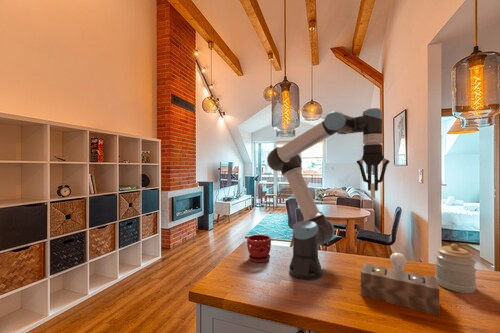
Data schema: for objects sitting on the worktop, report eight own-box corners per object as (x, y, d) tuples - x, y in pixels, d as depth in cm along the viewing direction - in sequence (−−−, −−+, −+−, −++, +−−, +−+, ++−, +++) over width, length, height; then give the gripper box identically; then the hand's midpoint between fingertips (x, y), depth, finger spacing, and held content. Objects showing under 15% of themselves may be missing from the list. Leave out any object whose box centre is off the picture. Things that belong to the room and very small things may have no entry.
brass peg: (372, 291, 91) (372, 270, 91) (373, 286, 95) (373, 266, 95) (385, 294, 89) (385, 273, 89) (386, 289, 93) (386, 269, 93)
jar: (437, 275, 107) (437, 237, 107) (476, 285, 98) (476, 243, 98) (432, 285, 98) (432, 243, 98) (475, 298, 88) (475, 251, 89)
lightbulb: (409, 281, 102) (409, 256, 102) (393, 280, 103) (393, 255, 103) (402, 274, 108) (402, 251, 108) (387, 273, 109) (387, 250, 109)
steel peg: (409, 300, 85) (409, 278, 85) (409, 294, 88) (409, 273, 88) (424, 304, 82) (424, 281, 82) (423, 298, 86) (423, 276, 86)
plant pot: (275, 257, 129) (274, 235, 129) (264, 266, 118) (263, 242, 118) (254, 253, 136) (254, 232, 136) (242, 260, 125) (242, 238, 125)
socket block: (360, 295, 91) (360, 272, 91) (364, 284, 99) (364, 263, 99) (439, 316, 78) (439, 289, 78) (436, 301, 86) (435, 277, 86)
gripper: (355, 144, 103) (355, 198, 102) (389, 142, 95) (389, 200, 95) (357, 145, 109) (358, 196, 109) (390, 144, 102) (390, 198, 102)
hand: (372, 198), depth 102 cm, fingers closed
